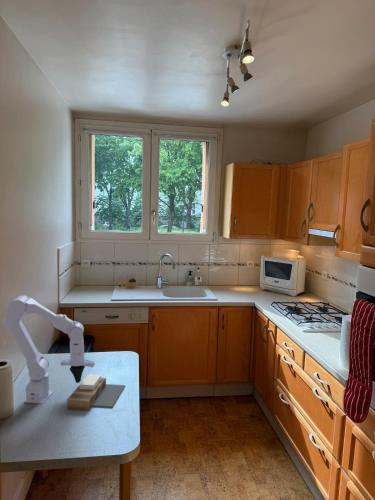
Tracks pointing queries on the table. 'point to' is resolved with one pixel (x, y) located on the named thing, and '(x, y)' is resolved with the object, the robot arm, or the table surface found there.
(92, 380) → the cream foam block
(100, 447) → the table surface
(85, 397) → the brown wooden block
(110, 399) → the mat
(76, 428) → the table surface
